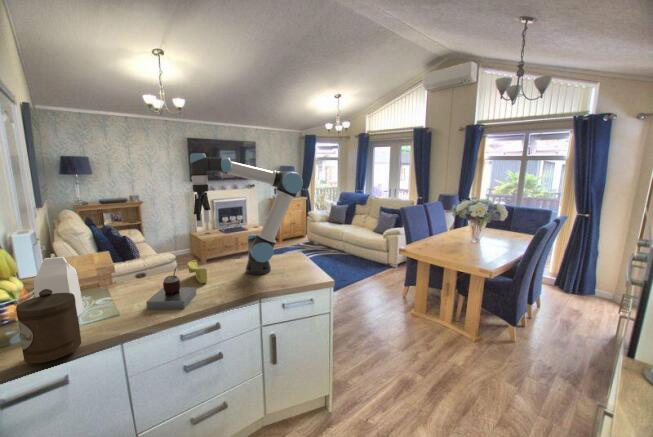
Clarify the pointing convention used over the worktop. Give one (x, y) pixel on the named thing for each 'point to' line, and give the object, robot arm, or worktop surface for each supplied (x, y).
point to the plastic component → (198, 271)
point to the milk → (58, 279)
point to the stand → (171, 299)
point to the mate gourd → (171, 284)
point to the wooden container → (48, 326)
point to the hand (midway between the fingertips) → (203, 224)
